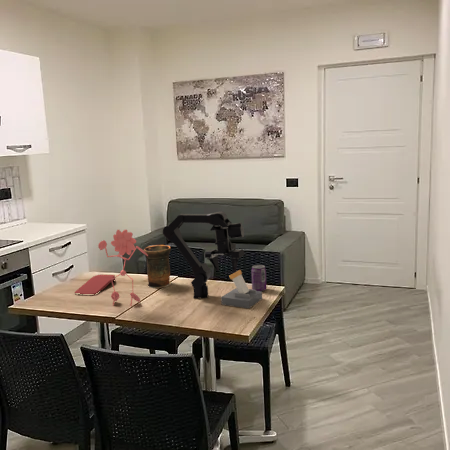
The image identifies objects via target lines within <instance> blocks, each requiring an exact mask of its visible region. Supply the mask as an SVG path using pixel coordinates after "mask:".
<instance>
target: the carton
mask: <svg viewBox="0 0 450 450" xmlns="http://www.w3.org/2000/svg"><path fill="white" fill-rule="evenodd" d="M114 277H116V275H115V274H97V275H93V276H92V277H91V278H89V279H88V280H87V281H85V283H84V284H82V285H81V286H80V287H79V288H78V289H77V290H75V291H74V294H75V293H80V294H96V293H98V292H99V291H101V290H102V291H103V290H104V289H105V288H107V286H108V285H109V284H110V283H112V281H114V280H115V281H116V278H114ZM113 278H114V279H113ZM111 280H112V281H111ZM102 291H101V292H102Z"/></svg>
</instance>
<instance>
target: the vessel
mask: <svg viewBox="0 0 450 450" xmlns="http://www.w3.org/2000/svg"><path fill="white" fill-rule="evenodd" d="M143 250H144V251H145V252H146V253H147V255H148V256H147V255H145V254H144V253H143V255H144V256H145V259H146V272H147V283H148V284H147V285H148V286H149V287H148V286H147V287H148V288H152V289H161V288H166V287H168V286H170V285H171V284H172V282H171V280H170V277H171V267H170V253H171V252H172V251H171V250H172V249H171V246H170V245H165V244H155V245H149V246H147V247H145V248H144V249H143Z"/></svg>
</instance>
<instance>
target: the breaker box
mask: <svg viewBox="0 0 450 450" xmlns="http://www.w3.org/2000/svg"><path fill="white" fill-rule="evenodd" d="M248 289H249V291H248V292H247V293H245V294H243V293H239V292H238V290H237V288H236V287H235V288H233V289H232V290H230V291H229V292H227V293H225V294H224V295H222V296H220V301H221V302H220V303H221V305H223V306H229V307H237V308H243V309H250V308H252V307H254V306H255V305H256V304H257V303H258V302H260V301H262V300H263V291H256V290H253V289H252V288H251V289H250V288H248Z"/></svg>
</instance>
